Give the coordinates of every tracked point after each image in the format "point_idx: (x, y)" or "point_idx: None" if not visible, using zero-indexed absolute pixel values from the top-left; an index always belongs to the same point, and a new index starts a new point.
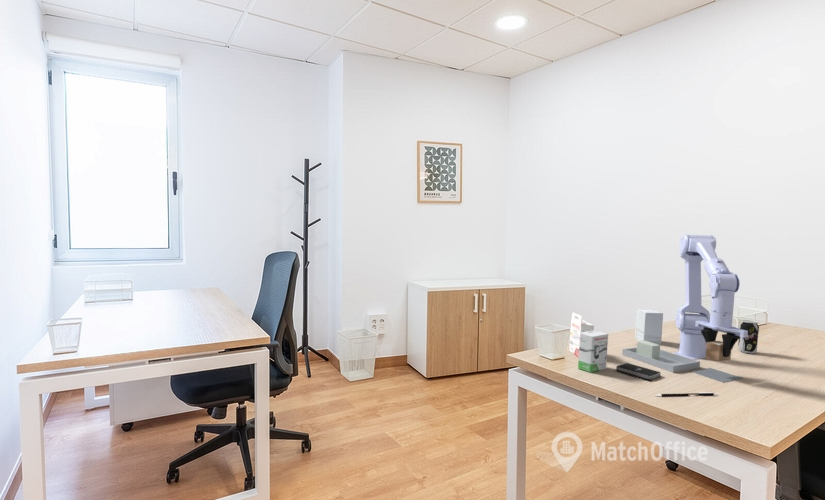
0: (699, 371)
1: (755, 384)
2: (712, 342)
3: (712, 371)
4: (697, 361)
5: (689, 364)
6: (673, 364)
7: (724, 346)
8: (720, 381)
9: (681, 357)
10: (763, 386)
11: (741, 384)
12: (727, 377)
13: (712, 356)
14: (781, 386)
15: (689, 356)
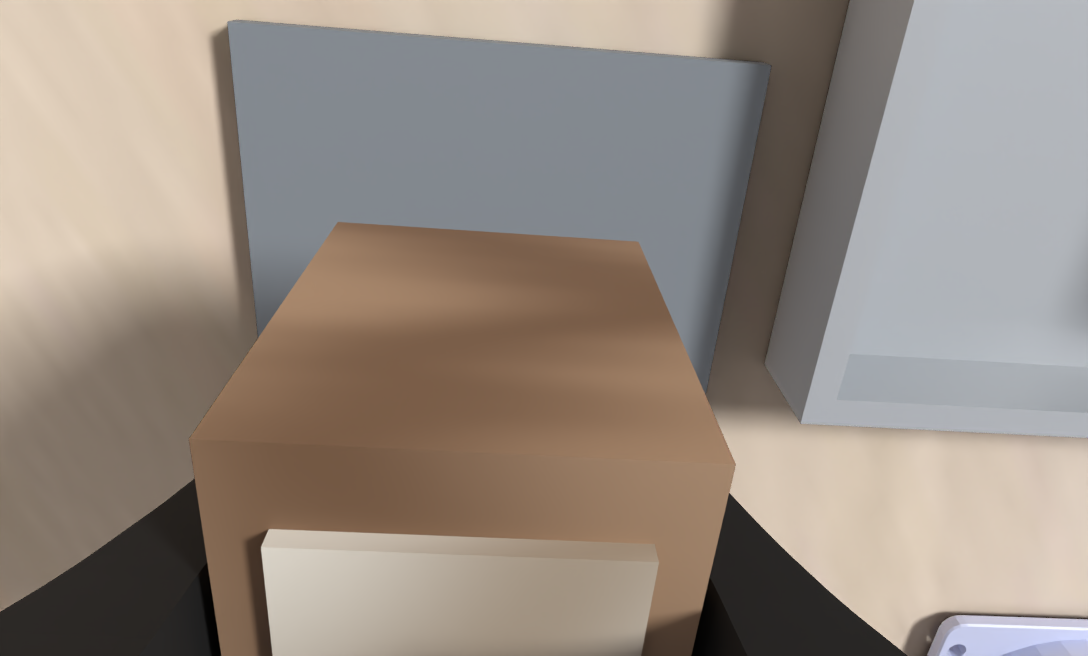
0: (690, 198)
1: (112, 427)
2: (564, 576)
3: None
4: (829, 398)
5: (862, 159)
6: (1084, 163)
7: (153, 571)
8: (277, 26)
9: (1079, 403)
10: (35, 442)
11: (152, 263)
12: None
13: (473, 257)
14: (3, 608)
15: (1023, 652)
